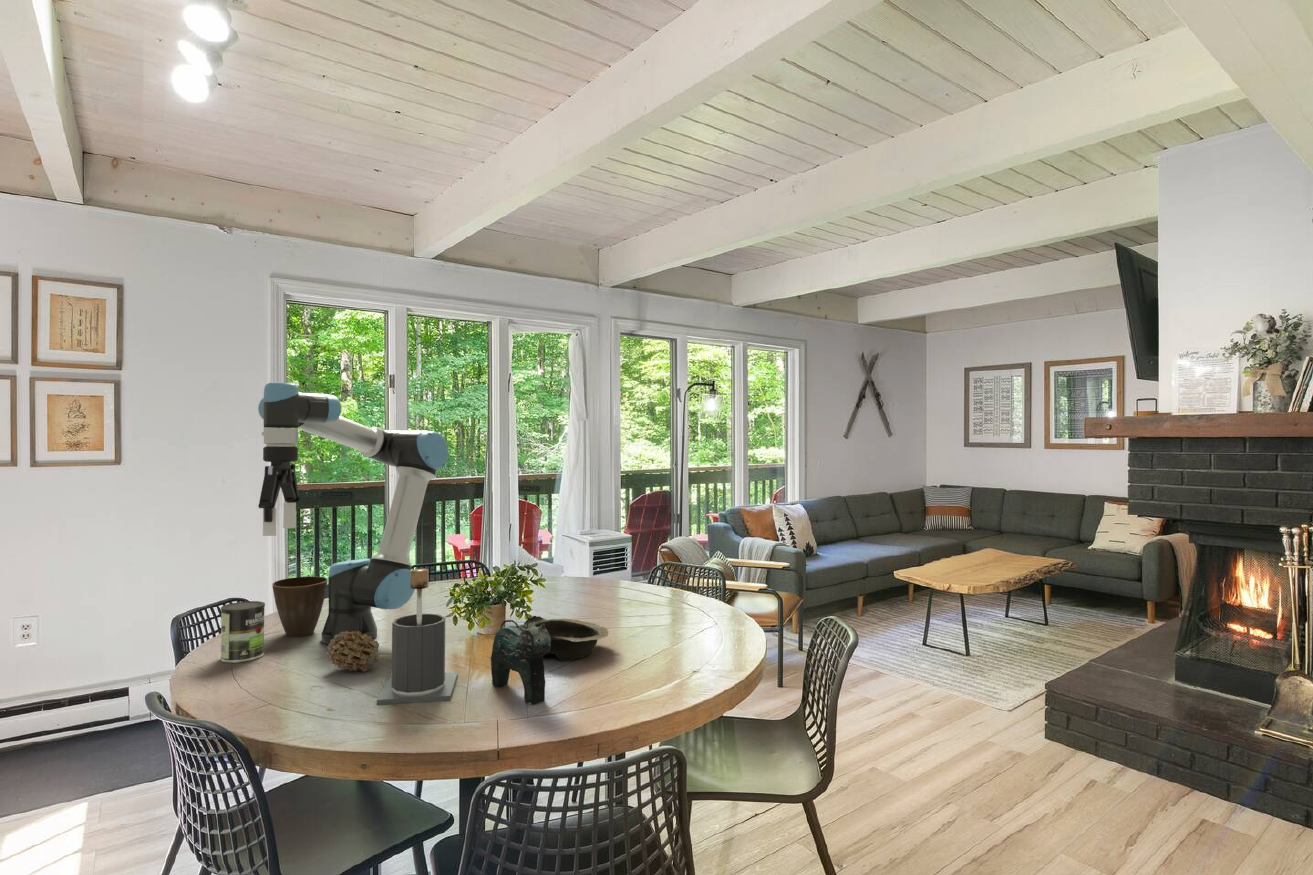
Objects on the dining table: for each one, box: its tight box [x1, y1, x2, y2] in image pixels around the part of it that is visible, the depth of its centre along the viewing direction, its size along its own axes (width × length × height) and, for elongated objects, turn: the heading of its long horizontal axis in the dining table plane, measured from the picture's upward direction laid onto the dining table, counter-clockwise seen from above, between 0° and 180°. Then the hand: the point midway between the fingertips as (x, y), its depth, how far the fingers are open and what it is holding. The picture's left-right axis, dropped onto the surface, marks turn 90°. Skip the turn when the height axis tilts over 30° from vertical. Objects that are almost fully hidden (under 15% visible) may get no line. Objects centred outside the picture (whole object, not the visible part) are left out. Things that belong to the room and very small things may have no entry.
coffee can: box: [220, 600, 266, 664], centre depth 186 cm, size 10×10×14 cm
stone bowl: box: [519, 615, 609, 662], centre depth 193 cm, size 25×25×9 cm
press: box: [376, 613, 459, 705], centre depth 164 cm, size 16×16×17 cm
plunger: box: [411, 568, 430, 626], centre depth 162 cm, size 9×9×27 cm
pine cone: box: [326, 631, 392, 672], centre depth 176 cm, size 22×10×10 cm, turn 84°
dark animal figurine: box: [490, 609, 551, 706], centre depth 162 cm, size 20×6×20 cm, turn 44°
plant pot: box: [271, 575, 328, 638], centre depth 209 cm, size 15×15×16 cm
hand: (279, 531), depth 169 cm, fingers open, 13 cm apart
